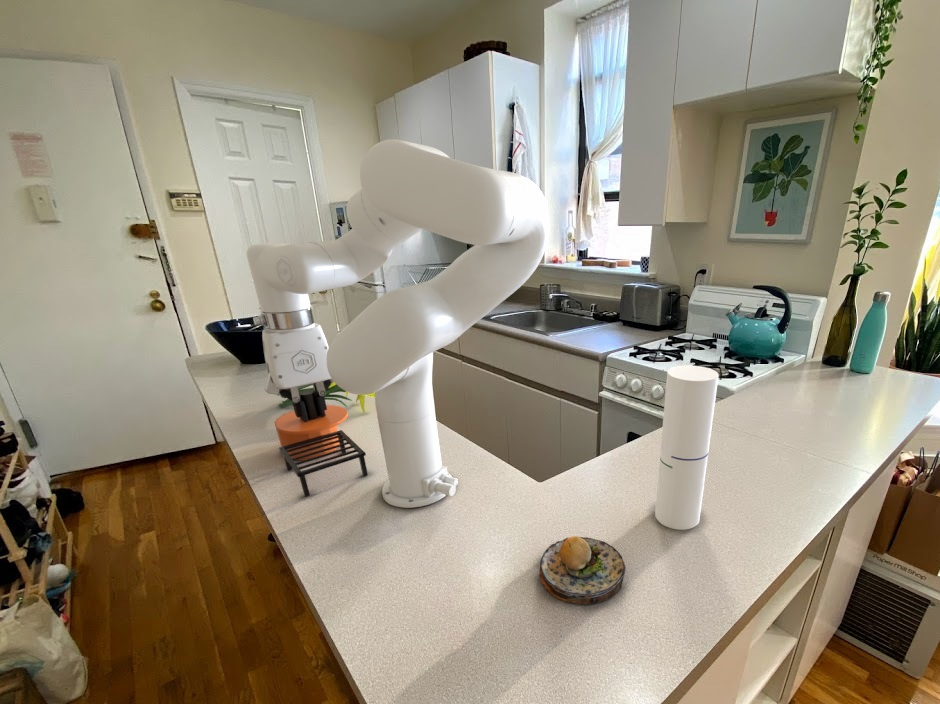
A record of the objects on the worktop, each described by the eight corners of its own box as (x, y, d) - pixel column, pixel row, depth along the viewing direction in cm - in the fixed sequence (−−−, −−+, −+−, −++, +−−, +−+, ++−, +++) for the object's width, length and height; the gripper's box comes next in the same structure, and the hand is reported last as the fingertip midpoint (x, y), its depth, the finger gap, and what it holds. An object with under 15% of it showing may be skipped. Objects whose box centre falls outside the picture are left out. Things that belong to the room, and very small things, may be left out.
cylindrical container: (691, 535, 72) (711, 384, 62) (648, 520, 76) (660, 375, 66) (704, 511, 78) (724, 369, 68) (663, 499, 81) (676, 362, 71)
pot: (351, 442, 104) (344, 411, 101) (307, 464, 95) (298, 431, 92) (317, 433, 109) (310, 403, 106) (272, 453, 100) (263, 422, 97)
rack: (370, 475, 91) (365, 452, 89) (304, 498, 84) (297, 474, 82) (346, 450, 100) (341, 429, 98) (285, 469, 93) (278, 447, 91)
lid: (362, 417, 90) (356, 387, 88) (307, 442, 80) (298, 409, 78) (319, 406, 95) (313, 378, 93) (262, 429, 85) (253, 398, 83)
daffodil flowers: (318, 392, 137) (411, 371, 123) (296, 433, 129) (393, 416, 115) (271, 354, 125) (367, 326, 111) (243, 397, 117) (344, 373, 103)
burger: (639, 591, 62) (643, 546, 59) (556, 616, 58) (555, 569, 55) (601, 537, 72) (602, 497, 69) (529, 556, 68) (526, 513, 65)
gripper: (240, 331, 72) (270, 436, 80) (344, 315, 82) (362, 410, 90) (230, 323, 77) (259, 423, 85) (329, 310, 87) (347, 400, 95)
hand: (312, 416), depth 87 cm, fingers closed on lid, 2 cm apart
